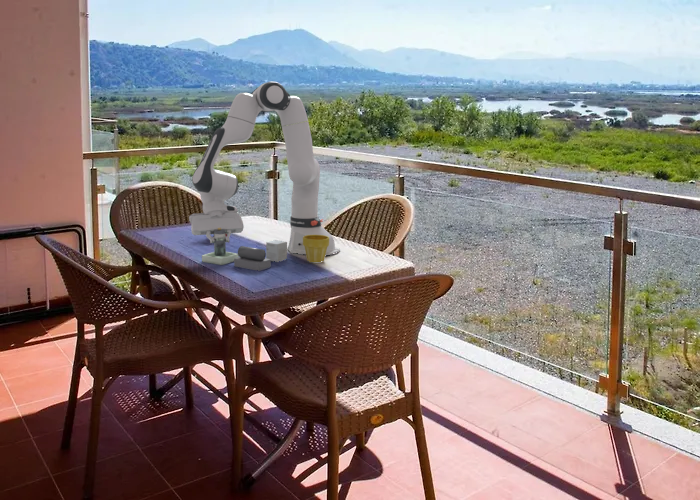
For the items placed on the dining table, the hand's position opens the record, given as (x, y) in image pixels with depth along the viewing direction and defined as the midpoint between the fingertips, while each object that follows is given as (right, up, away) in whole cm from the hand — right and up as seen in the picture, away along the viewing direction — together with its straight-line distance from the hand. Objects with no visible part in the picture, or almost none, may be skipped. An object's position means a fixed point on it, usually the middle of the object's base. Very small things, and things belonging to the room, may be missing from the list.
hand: (220, 241), depth 262 cm
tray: (0, -7, +2) cm, 8 cm away
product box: (+21, -7, +6) cm, 23 cm away
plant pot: (+37, -8, +5) cm, 38 cm away
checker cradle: (+13, -9, -6) cm, 17 cm away
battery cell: (0, -5, +2) cm, 5 cm away
